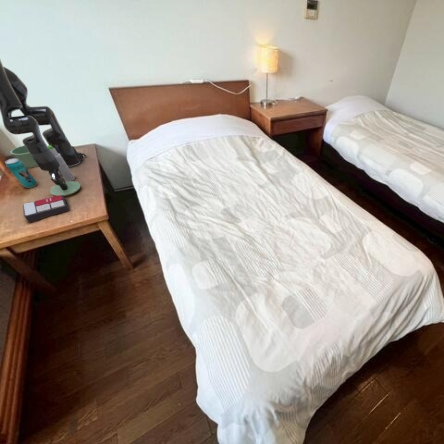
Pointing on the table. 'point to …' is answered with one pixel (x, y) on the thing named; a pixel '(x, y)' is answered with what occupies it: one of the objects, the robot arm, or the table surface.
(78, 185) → the lid
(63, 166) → the bottle
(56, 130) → the robot arm
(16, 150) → the pot
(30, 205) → the grey and red box
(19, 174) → the beverage can
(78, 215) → the table surface
